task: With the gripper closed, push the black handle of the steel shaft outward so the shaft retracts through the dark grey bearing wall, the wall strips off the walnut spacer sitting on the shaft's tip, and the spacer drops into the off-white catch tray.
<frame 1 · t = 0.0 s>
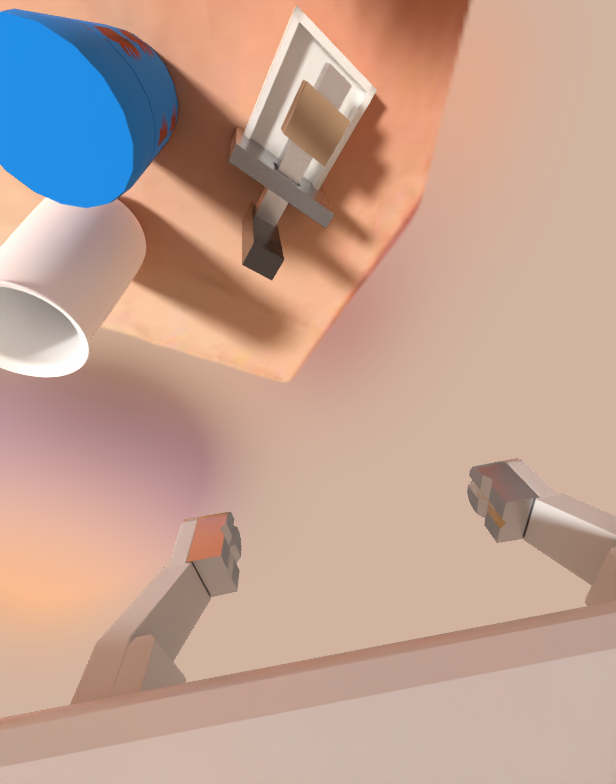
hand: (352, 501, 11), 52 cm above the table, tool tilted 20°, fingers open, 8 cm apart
shaft: (294, 174, 38), point 12 cm above the table, slide at 0.0 cm, touching spacer
catch tray: (306, 110, 43), on the table
bearing wall: (278, 166, 47), on the table
thermos: (133, 93, 39), on the table
vase: (105, 225, 49), on the table
spacer: (311, 122, 38), point 7 cm above the table, touching shaft
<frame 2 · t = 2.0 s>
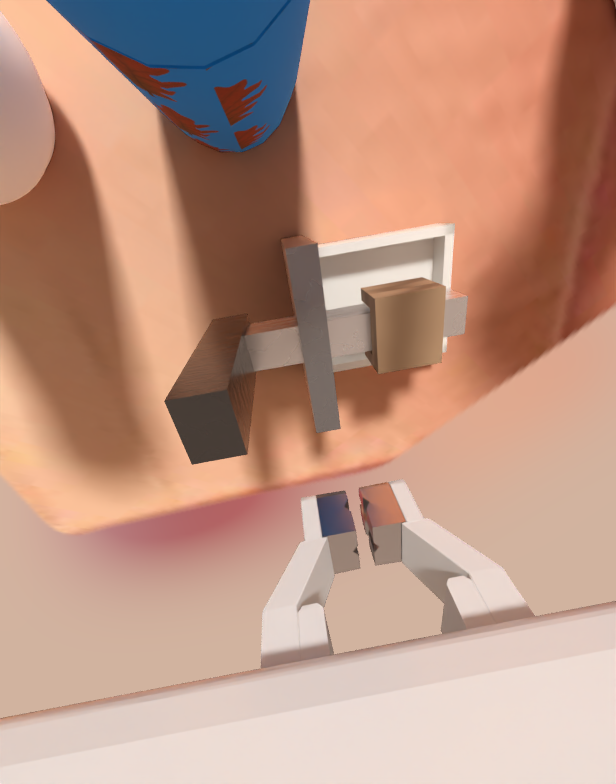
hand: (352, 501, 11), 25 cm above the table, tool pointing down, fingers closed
shaft: (345, 349, 22), point 12 cm above the table, slide at 0.0 cm, touching spacer
catch tray: (374, 298, 33), on the table
bearing wall: (303, 311, 33), on the table
thermos: (223, 67, 24), on the table
spacer: (392, 318, 27), point 7 cm above the table, touching shaft
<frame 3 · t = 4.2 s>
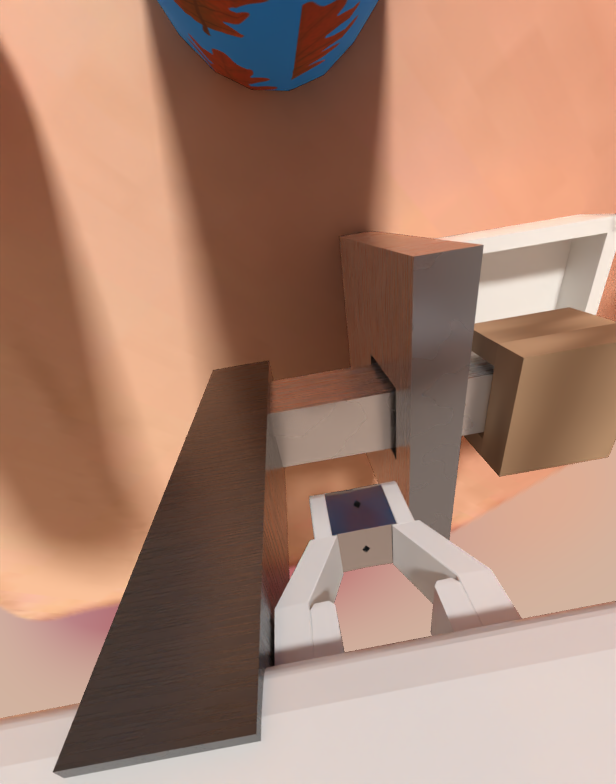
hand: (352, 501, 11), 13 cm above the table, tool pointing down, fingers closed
shaft: (462, 450, 12), point 12 cm above the table, slide at 1.2 cm, touching gripper, spacer
catch tray: (466, 325, 22), on the table
bearing wall: (362, 343, 22), on the table
spacer: (507, 371, 16), point 7 cm above the table, touching shaft
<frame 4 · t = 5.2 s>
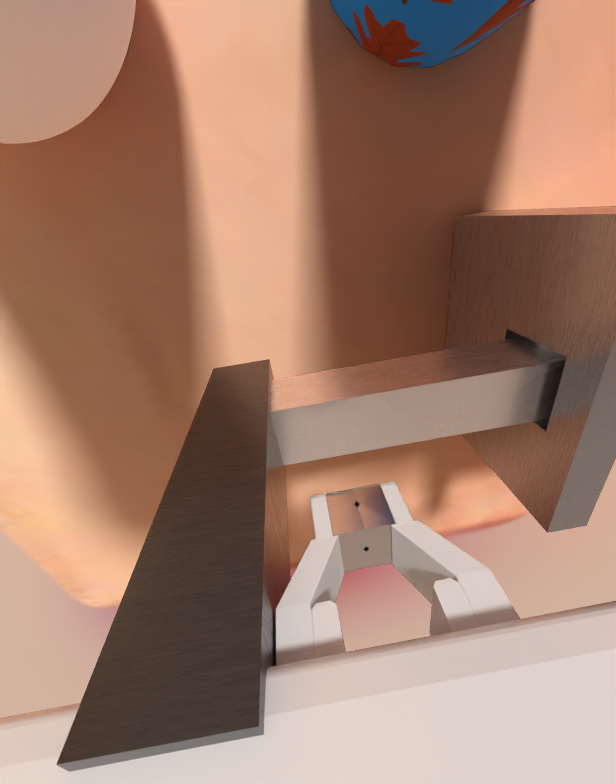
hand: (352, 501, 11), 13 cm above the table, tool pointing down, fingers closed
shaft: (462, 448, 12), point 12 cm above the table, slide at 8.3 cm, touching gripper, spacer
bearing wall: (460, 325, 22), on the table
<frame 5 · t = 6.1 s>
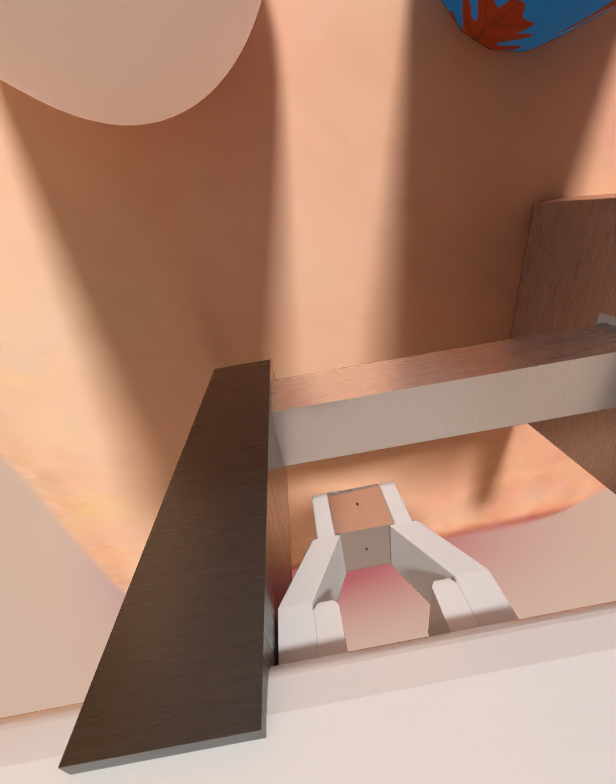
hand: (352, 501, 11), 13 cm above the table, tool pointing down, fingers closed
shaft: (464, 449, 12), point 12 cm above the table, slide at 13.0 cm, touching gripper
bearing wall: (527, 314, 22), on the table
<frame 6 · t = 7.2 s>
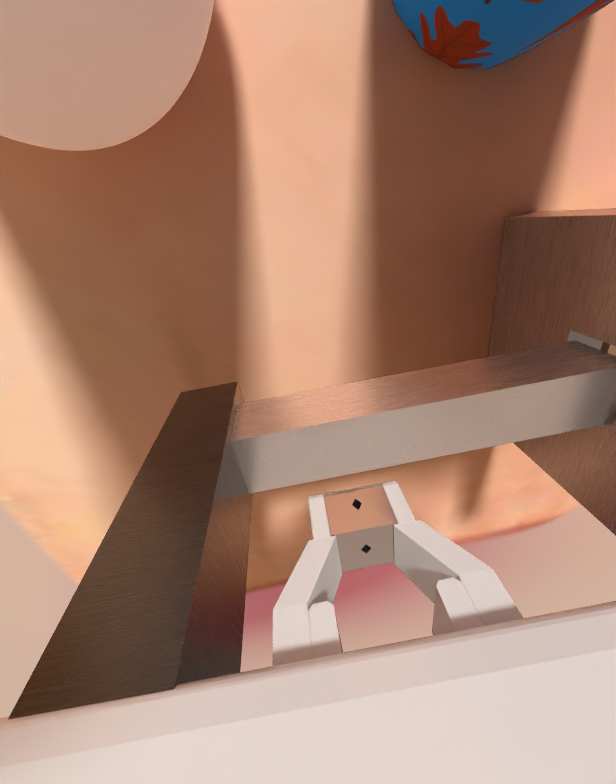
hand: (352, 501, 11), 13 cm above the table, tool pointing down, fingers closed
shaft: (425, 479, 11), point 12 cm above the table, slide at 13.0 cm
bearing wall: (505, 327, 22), on the table
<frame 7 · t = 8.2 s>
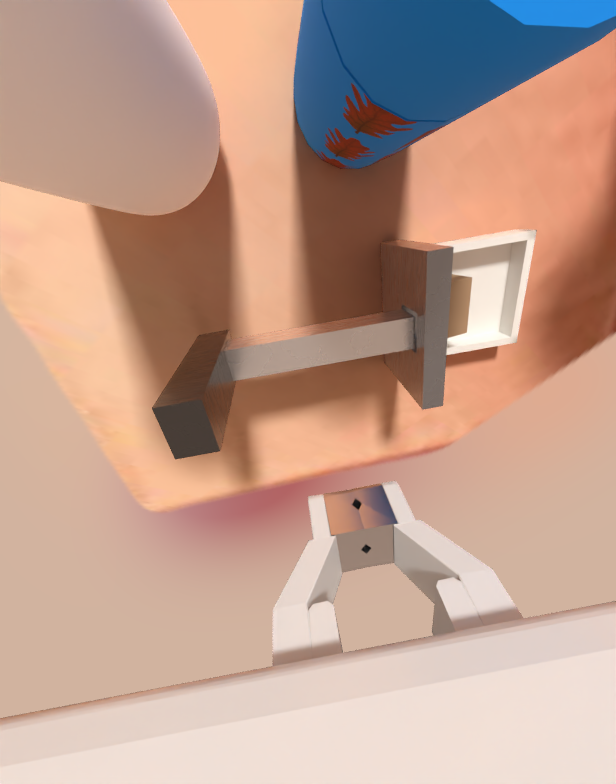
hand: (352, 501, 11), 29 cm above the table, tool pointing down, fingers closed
shaft: (309, 363, 26), point 12 cm above the table, slide at 13.0 cm
catch tray: (453, 295, 37), on the table
bearing wall: (391, 306, 37), on the table
thermos: (352, 98, 28), on the table
vase: (150, 131, 28), on the table
spacer: (424, 304, 36), point 1 cm above the table, tilted 12°, touching bearing wall, catch tray
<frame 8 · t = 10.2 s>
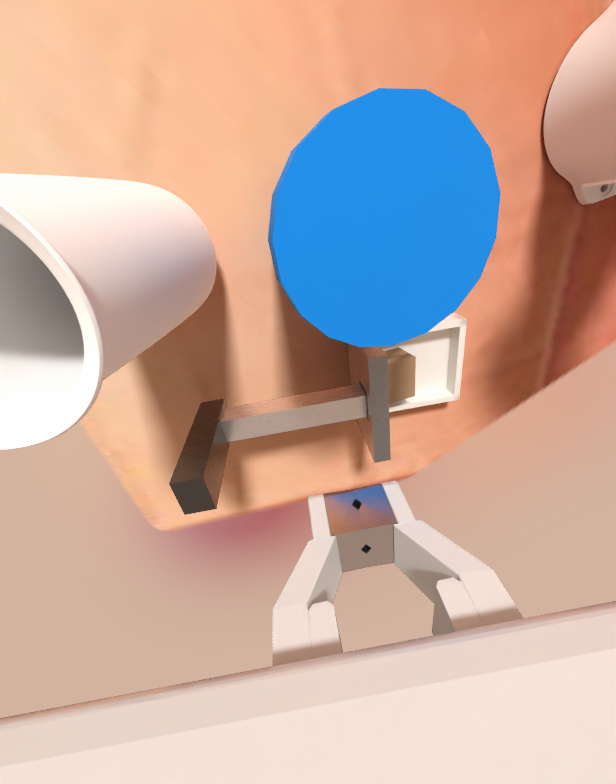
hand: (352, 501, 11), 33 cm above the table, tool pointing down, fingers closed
shaft: (283, 434, 35), point 12 cm above the table, slide at 13.0 cm
catch tray: (407, 361, 46), on the table
bearing wall: (356, 371, 46), on the table
thermos: (318, 227, 36), on the table
vase: (163, 254, 36), on the table
spacer: (382, 370, 44), point 1 cm above the table, tilted 12°, touching bearing wall, catch tray
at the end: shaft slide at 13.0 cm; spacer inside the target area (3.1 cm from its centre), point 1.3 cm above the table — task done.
